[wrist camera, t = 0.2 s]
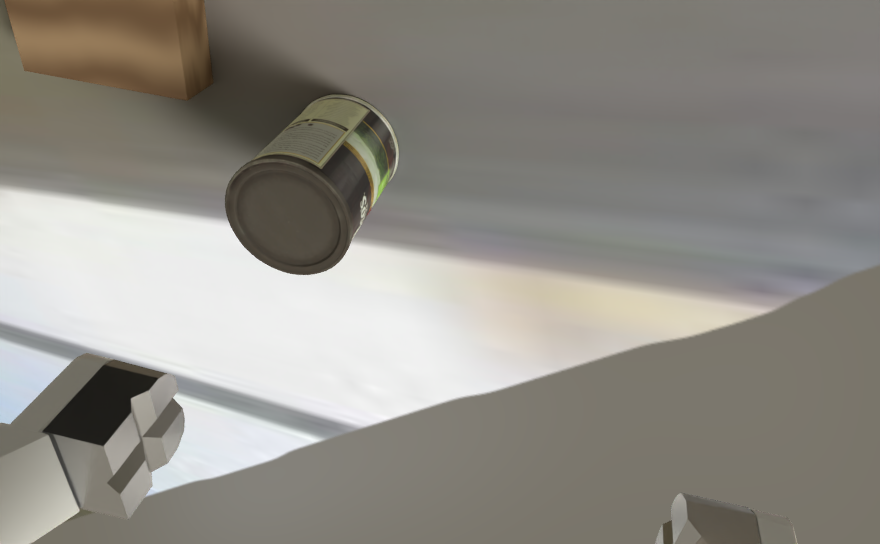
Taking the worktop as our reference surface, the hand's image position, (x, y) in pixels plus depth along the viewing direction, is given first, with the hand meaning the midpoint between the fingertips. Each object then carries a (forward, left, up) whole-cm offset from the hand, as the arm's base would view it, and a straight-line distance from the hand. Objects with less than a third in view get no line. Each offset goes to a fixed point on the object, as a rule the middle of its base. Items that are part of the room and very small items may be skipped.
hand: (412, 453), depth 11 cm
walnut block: (+8, -39, -48) cm, 62 cm away
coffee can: (+19, -18, -48) cm, 55 cm away
